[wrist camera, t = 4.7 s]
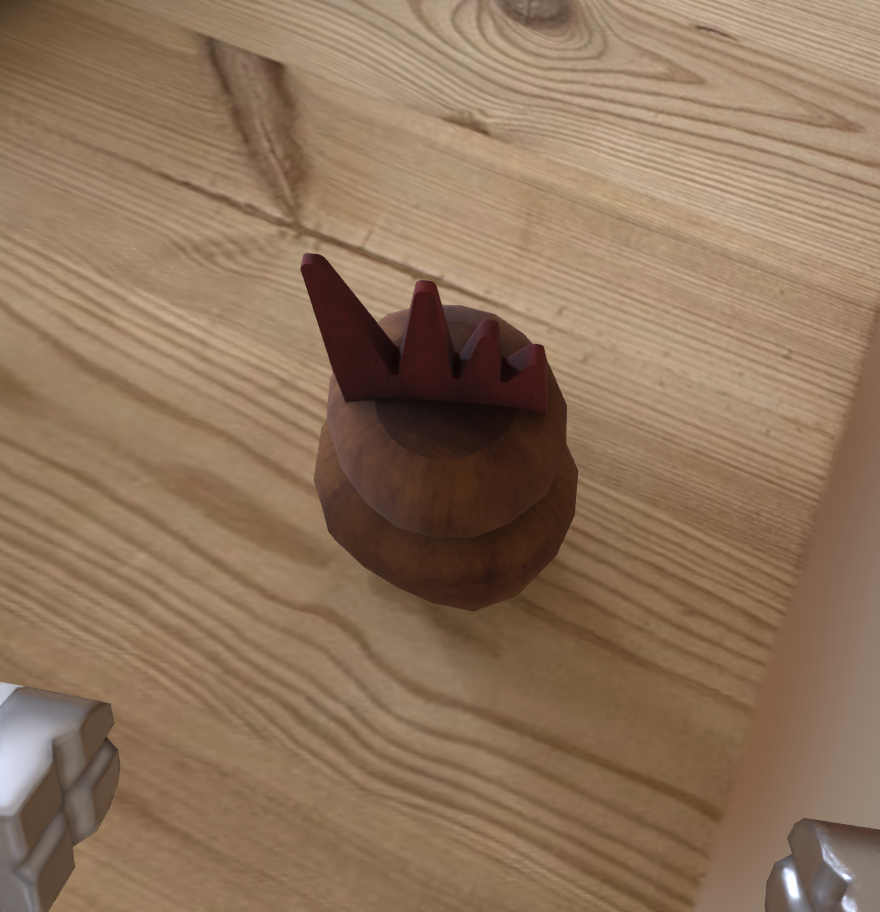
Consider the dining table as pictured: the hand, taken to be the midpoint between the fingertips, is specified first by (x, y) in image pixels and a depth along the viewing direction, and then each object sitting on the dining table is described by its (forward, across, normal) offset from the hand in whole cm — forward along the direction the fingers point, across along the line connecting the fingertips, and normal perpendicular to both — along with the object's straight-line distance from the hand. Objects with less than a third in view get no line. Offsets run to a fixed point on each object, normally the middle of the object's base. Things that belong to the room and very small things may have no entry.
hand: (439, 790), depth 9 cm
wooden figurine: (+14, +1, +6) cm, 16 cm away
